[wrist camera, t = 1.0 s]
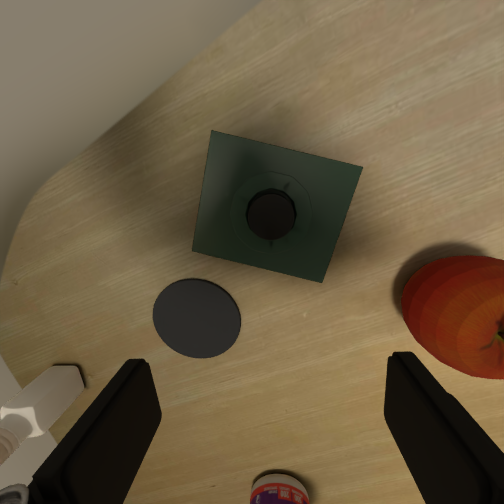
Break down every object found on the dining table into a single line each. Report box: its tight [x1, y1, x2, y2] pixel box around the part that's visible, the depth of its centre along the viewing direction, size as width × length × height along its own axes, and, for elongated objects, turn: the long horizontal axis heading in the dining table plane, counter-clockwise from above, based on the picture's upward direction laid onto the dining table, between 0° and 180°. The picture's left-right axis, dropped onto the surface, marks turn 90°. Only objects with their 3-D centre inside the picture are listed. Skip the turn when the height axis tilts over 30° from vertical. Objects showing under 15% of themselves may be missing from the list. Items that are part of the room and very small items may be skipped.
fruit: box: [401, 255, 504, 379], centre depth 19 cm, size 10×10×10 cm
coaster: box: [153, 279, 241, 358], centre depth 26 cm, size 10×10×1 cm
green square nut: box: [192, 130, 363, 283], centre depth 20 cm, size 12×10×5 cm
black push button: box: [248, 193, 294, 240], centre depth 17 cm, size 3×3×2 cm
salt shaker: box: [0, 366, 84, 466], centre depth 26 cm, size 4×4×10 cm
